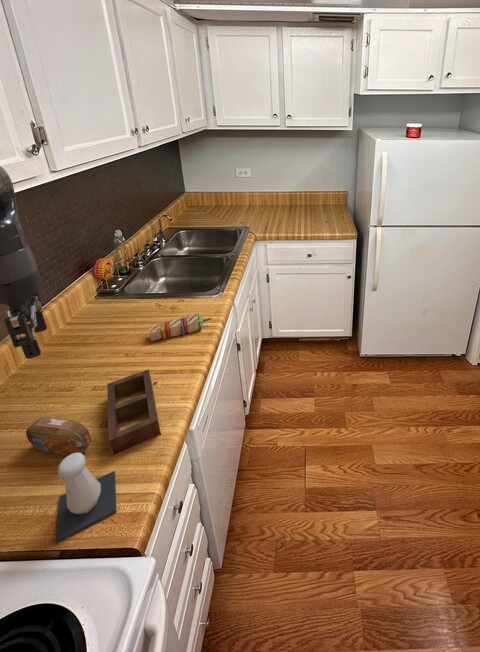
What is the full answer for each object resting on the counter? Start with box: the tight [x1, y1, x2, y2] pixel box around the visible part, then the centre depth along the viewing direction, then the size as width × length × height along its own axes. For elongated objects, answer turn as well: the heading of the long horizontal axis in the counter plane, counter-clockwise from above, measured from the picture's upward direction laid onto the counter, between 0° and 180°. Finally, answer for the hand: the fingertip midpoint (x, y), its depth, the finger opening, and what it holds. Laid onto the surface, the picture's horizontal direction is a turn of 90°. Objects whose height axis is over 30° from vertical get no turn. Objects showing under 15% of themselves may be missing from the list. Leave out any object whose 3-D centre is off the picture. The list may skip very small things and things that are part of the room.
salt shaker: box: [57, 453, 101, 514], centre depth 66 cm, size 6×6×13 cm
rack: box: [106, 369, 162, 456], centre depth 87 cm, size 10×19×5 cm, turn 31°
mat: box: [54, 470, 117, 544], centre depth 68 cm, size 10×9×1 cm
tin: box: [25, 416, 92, 457], centre depth 78 cm, size 15×3×8 cm, turn 82°
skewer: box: [148, 313, 212, 342], centre depth 119 cm, size 21×6×5 cm, turn 115°
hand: (37, 342), depth 66 cm, fingers open, 8 cm apart
